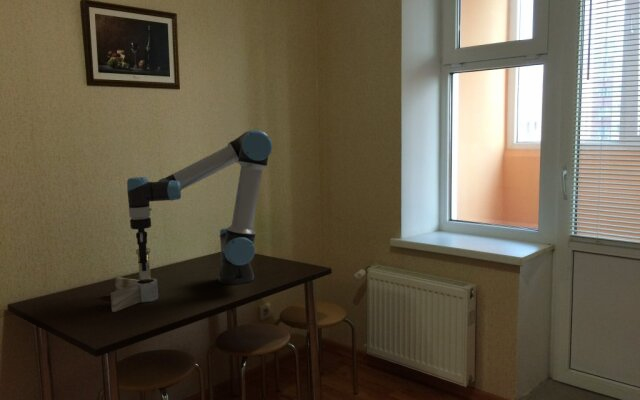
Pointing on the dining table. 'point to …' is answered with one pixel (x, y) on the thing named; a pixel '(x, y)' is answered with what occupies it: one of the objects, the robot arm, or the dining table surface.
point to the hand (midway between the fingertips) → (145, 277)
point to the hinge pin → (148, 267)
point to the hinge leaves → (124, 294)
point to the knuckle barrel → (147, 290)
